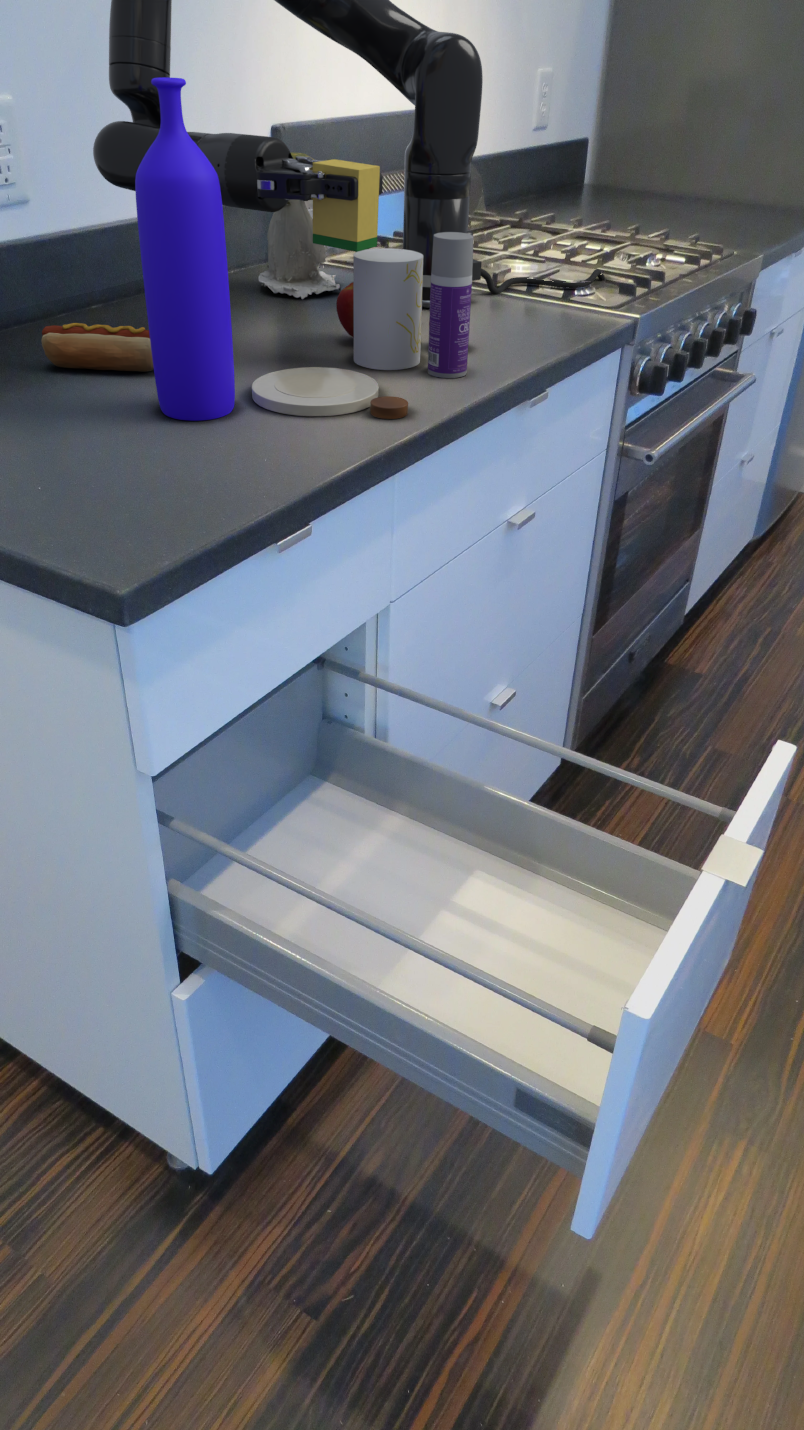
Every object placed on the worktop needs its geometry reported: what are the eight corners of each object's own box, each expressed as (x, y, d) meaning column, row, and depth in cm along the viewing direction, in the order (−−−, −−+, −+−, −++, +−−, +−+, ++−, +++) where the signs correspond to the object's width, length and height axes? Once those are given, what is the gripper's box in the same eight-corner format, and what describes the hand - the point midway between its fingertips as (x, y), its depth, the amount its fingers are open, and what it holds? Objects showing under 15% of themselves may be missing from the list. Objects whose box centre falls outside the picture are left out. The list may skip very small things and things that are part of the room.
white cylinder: (414, 372, 123) (417, 264, 116) (347, 367, 124) (347, 260, 117) (424, 353, 129) (427, 250, 122) (360, 349, 130) (360, 246, 123)
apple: (356, 331, 137) (356, 267, 133) (410, 340, 134) (411, 274, 130) (326, 344, 132) (325, 277, 127) (381, 353, 129) (382, 285, 124)
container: (463, 379, 120) (471, 240, 112) (424, 376, 121) (429, 238, 113) (469, 368, 124) (477, 233, 116) (431, 365, 125) (436, 230, 117)
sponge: (333, 238, 117) (334, 159, 113) (377, 246, 115) (380, 166, 110) (312, 243, 115) (312, 162, 110) (356, 252, 112) (358, 169, 107)
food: (171, 365, 123) (166, 321, 120) (157, 378, 118) (152, 333, 115) (57, 359, 124) (50, 315, 121) (39, 372, 119) (32, 327, 116)
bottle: (253, 409, 110) (234, 79, 93) (191, 427, 105) (159, 82, 88) (203, 392, 114) (176, 74, 97) (141, 409, 109) (102, 76, 92)
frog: (262, 299, 151) (255, 158, 141) (256, 280, 161) (248, 147, 151) (343, 298, 153) (341, 158, 142) (331, 278, 163) (329, 147, 153)
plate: (332, 370, 122) (332, 360, 122) (404, 401, 113) (404, 390, 113) (228, 390, 115) (228, 379, 115) (296, 425, 106) (295, 413, 105)
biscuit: (391, 404, 112) (391, 393, 112) (415, 414, 110) (415, 403, 109) (362, 411, 110) (362, 400, 109) (386, 421, 108) (386, 410, 107)
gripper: (198, 139, 110) (329, 152, 103) (281, 129, 120) (405, 141, 113) (204, 216, 114) (330, 234, 107) (283, 201, 124) (403, 216, 117)
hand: (368, 186), depth 110 cm, fingers closed on sponge, 4 cm apart
